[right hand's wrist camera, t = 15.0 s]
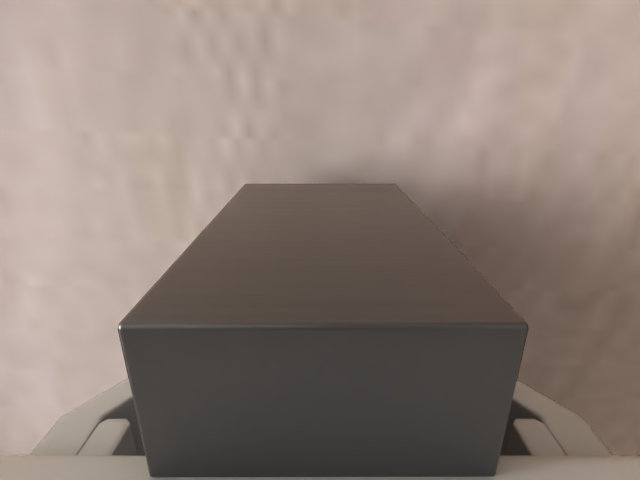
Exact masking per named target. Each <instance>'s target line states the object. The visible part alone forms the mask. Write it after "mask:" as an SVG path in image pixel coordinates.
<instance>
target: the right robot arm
mask: <svg viewBox="0 0 640 480" xmlns="http://www.w3.org/2000/svg"><path fill="white" fill-rule="evenodd" d="M0 480H640V455H613V454H612V452H611V451H610V450H609V449H608V448H607V446H606V445H605V444H604V443H603V442H602V440H601V439H600V438H599V437H598V436H597V434H596V433H595V432H594V431H593V430H592V428H591V427H590V426H589V425H588V424H587V422H586V421H585V420H584V419H583V418H582V417H581V416H579V415H577V414H575V413H574V412H572V411H570V410H568V409H567V408H565V407H563V406H562V405H560V404H558V403H556V402H555V401H553V400H551V399H549V398H548V397H546V396H544V395H542V394H541V393H539V392H537V391H536V390H534V389H532V388H530V387H529V386H527V385H525V384H523V383H522V382H520V381H518V380H517V381H516V386H515V390H514V395H513V399H512V403H511V408H510V412H509V417H508V421H507V426H506V430H505V434H504V439H503V443H502V448H501V452H500V457H499V461H498V465H497V470H496V474H495V476H493V477H151V476H150V474H149V470H148V465H147V461H146V456H145V451H144V447H143V442H142V438H141V433H140V428H139V424H138V419H137V415H136V410H135V406H134V401H133V396H132V392H131V387H130V383H129V378H128V379H126V380H124V381H122V382H121V383H119V384H117V385H115V386H114V387H112V388H110V389H109V390H107V391H105V392H103V393H102V394H100V395H98V396H96V397H95V398H93V399H91V400H90V401H88V402H86V403H84V404H83V405H81V406H79V407H77V408H76V409H74V410H72V411H71V412H69V413H67V414H65V415H64V416H62V417H61V418H60V419H59V420H58V421H57V422H56V424H55V425H54V426H53V427H52V428H51V430H50V431H49V432H48V433H47V434H46V436H45V437H44V438H43V439H42V440H41V442H40V443H39V444H38V445H37V447H36V448H35V449H34V450H33V451H32V453H31V454H30V455H0Z"/></svg>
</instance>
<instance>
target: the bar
mask: <svg viewBox="0 0 640 480" xmlns="http://www.w3.org/2000/svg"><path fill="white" fill-rule="evenodd" d="M118 332H119V337H120V341H121V346H122V351H123V355H124V360H125V364H126V369H127V373H128V378H129V383H130V387H131V392H132V396H133V401H134V406H135V410H136V415H137V419H138V424H139V428H140V433H141V438H142V442H143V447H144V451H145V456H146V461H147V465H148V470H149V474H150V476H151V477H493V476H495V474H496V470H497V465H498V461H499V457H500V452H501V448H502V443H503V439H504V434H505V430H506V426H507V421H508V417H509V412H510V408H511V403H512V399H513V395H514V390H515V386H516V381H517V377H518V372H519V368H520V363H521V359H522V355H523V350H524V346H525V341H526V337H527V332H528V325H527V322H526V321H525V320H524V319H523V318H522V317H521V316H520V315H519V314H518V313H517V312H516V311H515V310H514V309H513V308H512V307H511V306H510V304H509V303H508V302H507V301H506V300H505V299H504V298H503V297H502V296H501V295H500V294H499V293H498V292H497V291H496V290H495V289H494V288H493V286H492V285H491V284H490V283H489V282H488V281H487V280H486V279H485V278H484V277H483V276H482V275H481V274H480V273H479V272H478V271H477V270H476V268H475V267H474V266H473V265H472V264H471V263H470V262H469V261H468V260H467V259H466V258H465V257H464V256H463V255H462V254H461V253H460V251H459V250H458V249H457V248H456V247H455V246H454V245H453V244H452V243H451V242H450V241H449V240H448V239H447V238H446V237H445V236H444V235H443V233H442V232H441V231H440V230H439V229H438V228H437V227H436V226H435V225H434V224H433V223H432V222H431V221H430V220H429V219H428V218H427V217H426V215H425V214H424V213H423V212H422V211H421V210H420V209H419V208H418V207H417V206H416V205H415V204H414V203H413V202H412V201H411V200H410V199H409V197H408V196H407V195H406V194H405V193H404V192H403V191H402V190H401V189H400V188H399V187H398V186H397V185H396V184H245V185H244V186H243V187H242V188H241V189H240V190H239V191H238V193H237V194H236V195H235V196H234V197H233V198H232V199H231V200H230V201H229V203H228V204H227V205H226V206H225V207H224V208H223V209H222V210H221V211H220V212H219V214H218V215H217V216H216V217H215V218H214V219H213V220H212V221H211V222H210V224H209V225H208V226H207V227H206V228H205V229H204V230H203V231H202V232H201V234H200V235H199V236H198V237H197V238H196V239H195V240H194V241H193V242H192V243H191V245H190V246H189V247H188V248H187V249H186V250H185V251H184V252H183V253H182V255H181V256H180V257H179V258H178V259H177V260H176V261H175V262H174V263H173V264H172V266H171V267H170V268H169V269H168V270H167V271H166V272H165V273H164V274H163V276H162V277H161V278H160V279H159V280H158V281H157V282H156V283H155V284H154V285H153V287H152V288H151V289H150V290H149V291H148V292H147V293H146V294H145V295H144V297H143V298H142V299H141V300H140V301H139V302H138V303H137V304H136V305H135V307H134V308H133V309H132V310H131V311H130V312H129V313H128V314H127V315H126V316H125V318H124V319H123V320H122V321H121V322H120V323H119V326H118Z"/></svg>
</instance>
